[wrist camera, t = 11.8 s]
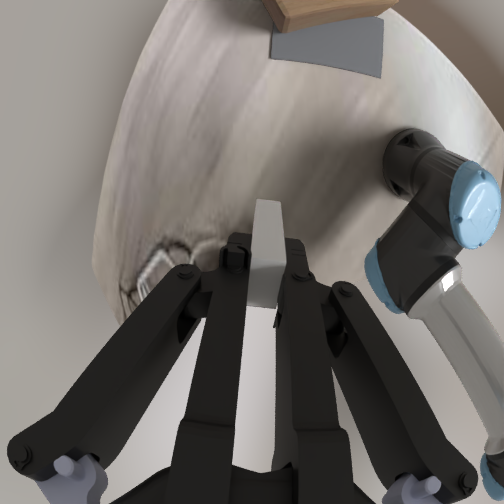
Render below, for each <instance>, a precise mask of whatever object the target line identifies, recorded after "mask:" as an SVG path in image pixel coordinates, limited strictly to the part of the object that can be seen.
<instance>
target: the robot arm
mask: <svg viewBox="0 0 504 504" xmlns="http://www.w3.org/2000/svg"><path fill="white" fill-rule="evenodd" d="M383 173H384V177H385V180H386V182H387V184H388V186H389V187H390V189H391V190H392V191H393V192H394V193H395V194H396V195H398V196H399V197H400V198H402V199H403V200H406V201H408V202H409V203H408V205H407V206H406V207H405V208H404V210H403V211H402V212H401V213H400V215H399V216H398V217H397V218H396V219H395V221H394V222H393V223H392V224H391V226H390V227H389V228H388V229H387V230H386V231H385V233H384V234H383V235H382V236H381V237H380V238H378V239H377V241H376V242H375V245H374V246H373V248H372V249H371V250H370V252H369V253H368V254H367V256H366V258H365V265H364V268H365V273H366V276H367V279H368V281H369V283H370V285H371V287H372V289H373V291H374V292H375V294H376V295H377V297H378V298H379V300H380V301H381V302H383V303H385V305H386V307H387V308H388V309H389V310H390V311H392V312H393V313H396V314H401V313H404V312H405V313H406V315H407V316H408V317H409V318H411V319H420V320H422V321H423V322H424V324H425V325H426V326H427V328H428V330H429V331H430V332H431V334H432V335H433V337H434V338H435V340H436V342H437V343H438V345H439V346H440V348H441V349H442V351H443V352H444V354H445V356H446V357H447V359H448V360H449V362H450V364H451V365H452V367H453V369H454V370H455V372H456V374H457V375H458V377H459V378H460V380H461V382H462V384H463V386H464V388H465V389H466V391H467V393H468V395H469V397H470V399H471V401H472V402H473V404H474V406H475V408H476V410H477V412H478V414H479V416H480V418H481V420H482V422H483V424H484V426H485V428H486V431H487V432H488V435H489V437H488V439H487V442H486V444H485V447H484V450H485V453H484V455H483V456H482V458H481V463H480V471H481V475H482V477H483V480H482V481H483V485H484V487H485V489H486V491H487V493H488V494H489V496H490V497H491V498H492V499H494V500H497V501H501V500H504V342H503V341H502V339H501V337H500V336H499V334H498V333H497V331H496V330H495V328H494V326H493V325H492V323H491V322H490V320H489V319H488V317H487V316H486V314H485V313H484V311H483V310H482V309H481V307H480V306H479V304H478V303H477V302H476V300H475V299H474V298H473V296H472V295H471V294H470V292H469V291H468V290H467V288H466V287H465V286H464V284H463V283H462V267H461V265H460V264H459V263H458V262H457V261H456V259H455V258H456V256H457V255H458V254H459V252H460V251H461V250H462V249H463V248H467V249H476V248H478V245H479V246H482V245H484V244H485V243H486V242H487V241H488V240H489V238H490V237H491V236H492V234H493V232H494V231H495V229H496V226H497V223H498V221H499V217H500V212H501V208H500V207H501V194H500V189H499V186H498V184H497V182H496V180H495V178H494V177H493V176H492V174H491V173H489V172H488V171H487V170H485V169H484V168H482V167H481V166H480V165H479V164H478V163H476V162H474V161H470V160H468V159H466V158H464V157H462V156H460V155H458V154H456V153H453V152H451V151H449V150H446V149H445V147H444V146H443V145H442V144H441V143H440V141H439V140H438V139H437V138H436V137H434V136H433V135H432V134H430V133H428V132H425V131H422V130H419V129H408V130H405V131H402V132H400V133H399V134H397V135H396V136H395V137H394V138H393V139H392V140H391V141H390V143H389V144H388V146H387V148H386V151H385V154H384V158H383ZM277 305H278V309H277V313H276V317H275V322H274V325H273V328H275V327H276V403H275V405H276V407H275V451H274V455H273V459H272V467H271V468H272V469H271V472H266V473H257V472H254V471H250V470H247V469H244V468H241V467H237V466H234V465H232V458H233V447H234V436H235V419H236V409H237V399H238V387H239V377H240V368H241V357H242V347H243V336H244V326H245V315H246V306H254V307H263V308H272V309H276V306H277ZM206 317H207V318H206ZM201 318H206V322H205V326H204V330H203V334H202V339H201V343H200V347H199V352H198V356H197V361H196V365H195V370H194V374H193V379H192V383H191V388H190V392H189V397H188V402H187V407H186V411H185V415H184V418H183V419H182V420H181V422H180V424H179V427H178V431H177V436H176V441H175V446H174V451H173V456H172V461H171V466H170V467H167V468H164V469H162V470H160V471H158V472H156V473H155V474H154V475H152V476H151V477H149V478H148V479H146V480H145V481H144V482H142V483H141V484H139V485H138V486H136V487H135V488H133V489H132V490H130V491H129V492H127V493H126V494H124V495H123V496H121V497H119V498H118V499H116V500H114V501H113V502H111V503H110V504H376V503H375V502H374V501H372V500H371V499H370V498H369V497H368V496H367V495H366V494H365V493H364V492H363V491H362V490H361V489H360V488H359V487H358V486H357V485H356V484H355V483H354V482H353V473H352V461H351V452H350V442H349V437H348V434H347V432H346V430H344V429H343V428H341V427H340V425H339V421H338V412H337V404H336V397H335V389H334V382H333V375H332V369H333V371H334V373H335V376H336V378H337V380H338V383H339V385H340V387H341V390H342V392H343V394H344V397H345V399H346V402H347V404H348V406H349V409H350V411H351V413H352V416H353V418H354V421H355V423H356V426H357V428H358V431H359V433H360V435H361V438H362V440H363V443H364V445H365V448H366V450H367V453H368V455H369V458H370V460H371V463H372V465H373V467H374V470H375V472H376V474H377V476H378V478H379V479H380V481H381V483H382V484H383V486H384V487H385V488H386V489H387V490H388V491H387V493H386V494H385V495H384V497H383V499H382V503H383V504H452V503H455V502H457V501H460V500H463V499H465V498H467V497H469V496H471V494H472V493H473V492H474V491H475V489H476V486H477V483H478V474H477V471H476V469H475V468H474V466H473V465H472V464H471V463H470V462H469V461H468V460H467V459H466V458H465V457H464V456H463V455H462V454H461V453H460V452H459V451H458V450H457V449H456V448H455V447H454V446H453V445H452V444H451V443H450V442H449V441H448V440H447V439H446V437H445V435H444V433H443V431H442V429H441V427H440V425H439V423H438V421H437V419H436V417H435V415H434V413H433V411H432V409H431V407H430V406H429V404H428V402H427V400H426V398H425V396H424V394H423V393H422V391H421V389H420V387H419V385H418V384H417V382H416V380H415V378H414V377H413V375H412V373H411V371H410V370H409V368H408V366H407V365H406V363H405V361H404V360H403V358H402V356H401V355H400V353H399V351H398V350H397V348H396V346H395V345H394V343H393V341H392V340H391V338H390V337H389V335H388V334H387V332H386V330H385V329H384V327H383V326H382V324H381V322H380V321H379V319H378V318H377V316H376V315H375V313H374V312H373V310H372V309H371V307H370V306H369V304H368V303H367V301H366V300H365V298H364V297H363V295H362V294H361V292H360V291H359V289H358V288H357V287H356V286H354V285H353V284H351V283H349V282H346V281H338V282H335V283H334V284H333V285H332V287H329V286H326V285H323V284H321V283H319V282H317V281H316V279H315V276H314V274H313V273H312V272H310V271H309V267H308V262H307V257H306V252H305V247H304V244H303V243H302V242H301V241H300V240H298V239H290V238H284V230H283V220H282V211H281V202H279V201H272V200H264V199H256V207H255V215H254V223H253V231H252V234H245V233H236V232H234V233H232V234H231V235H230V236H229V238H228V242H227V245H225V246H224V247H222V248H221V250H220V259H219V268H218V269H216V270H213V271H210V272H201V271H200V269H199V268H198V267H197V266H194V265H192V264H180V265H177V266H175V267H173V268H172V269H171V270H170V271H169V272H168V273H167V274H166V276H165V277H164V278H163V279H162V280H161V281H160V282H159V283H158V284H157V285H156V287H155V288H154V289H153V290H152V291H151V292H150V293H149V294H148V296H147V297H146V298H145V299H144V300H143V301H142V302H141V303H140V305H139V306H138V307H137V308H136V309H135V310H134V311H133V313H132V314H131V315H130V316H129V317H128V318H127V320H126V321H125V322H124V323H123V324H122V325H121V327H120V328H119V329H118V330H117V331H116V333H115V334H114V335H113V336H112V337H111V339H110V340H109V341H108V342H107V343H106V345H105V346H104V347H103V348H102V349H101V351H100V352H99V353H98V354H97V355H96V357H95V358H94V359H93V360H92V362H91V363H90V364H89V365H88V367H87V368H86V369H85V371H84V372H83V373H82V374H81V376H80V377H79V378H78V379H77V381H76V382H75V383H74V385H73V386H72V387H71V388H70V390H69V391H68V392H67V394H66V395H65V396H64V398H63V399H62V400H61V402H60V403H59V404H58V406H57V407H56V408H55V410H54V411H53V412H51V413H50V414H48V415H47V416H45V417H44V418H42V419H40V420H39V421H37V422H36V423H35V424H33V425H31V426H30V427H28V428H26V429H25V430H23V431H22V432H20V433H19V434H17V435H16V436H14V437H13V438H12V439H11V440H10V441H9V444H8V447H7V456H8V458H9V462H10V464H11V465H12V466H13V468H14V469H15V470H16V471H17V472H19V473H20V474H22V475H24V476H26V477H29V478H31V479H33V480H34V481H35V482H36V483H37V484H38V486H39V488H40V489H41V491H42V492H43V494H44V495H45V497H46V498H47V500H48V501H49V502H50V504H100V498H101V495H102V494H103V493H104V491H105V490H106V488H107V485H108V478H107V475H106V472H105V471H104V470H105V469H106V468H107V467H108V466H109V465H110V464H111V463H112V462H113V461H114V460H115V459H116V457H117V456H118V455H119V453H120V452H121V450H122V449H123V447H124V446H125V444H126V442H127V440H128V439H129V437H130V436H131V434H132V432H133V431H134V429H135V427H136V426H137V424H138V422H139V421H140V419H141V417H142V416H143V414H144V413H145V411H146V409H147V408H148V406H149V404H150V403H151V401H152V399H153V398H154V396H155V395H156V393H157V391H158V390H159V388H160V386H161V385H162V383H163V381H164V380H165V378H166V376H167V375H168V373H169V371H170V370H171V368H172V367H173V365H174V363H175V362H176V360H177V359H178V357H179V355H180V354H181V352H182V351H183V349H184V347H185V346H186V344H187V342H188V341H189V339H190V338H191V336H192V334H193V333H194V331H195V329H196V328H197V326H198V324H199V323H200V321H201ZM331 367H332V368H331Z"/></svg>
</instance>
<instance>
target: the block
mask: <svg viewBox="0 0 504 504" xmlns="http://www.w3.org/2000/svg"><path fill="white" fill-rule="evenodd" d="M398 1H399V0H262V2H263V4H264V5H265V7H266V9H267V11H268V12H269V14H270V16H271V18H272V19H273V21H274V23H275V25H276V27H277V29H278V30H279V31H280V32H281V33H289V32H293V31H297V30H300V29H304V28H308V27H313V26H317V25H322V24H326V23H331V22H337V21H342V20H348V19H355V18H363V17H371V16H378V15H380V14H381V13H383V12H384V11H386V10H387V9H389V8H390V7H392V6H393V5H395V4H396V3H397V2H398Z"/></svg>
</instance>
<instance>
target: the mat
mask: <svg viewBox="0 0 504 504" xmlns="http://www.w3.org/2000/svg"><path fill="white" fill-rule="evenodd" d="M383 33H384V20H383V19H380V18H377V17H374V16H371V17H363V18H355V19H348V20H342V21H337V22H331V23H326V24H322V25H317V26H313V27H308V28H304V29H300V30H297V31H293V32H289V33H281V32H280V31H279V30H278V29H277V27H276V25H275V23H274V21H273V36H272V51H271V59H279V60H289V61H297V62H305V63H312V64H318V65H324V66H330V67H335V68H340V69H345V70H349V71H354V72H358V73H362V74H366V75H370V76H374V77H377V78H381V70H382V56H383Z"/></svg>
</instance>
